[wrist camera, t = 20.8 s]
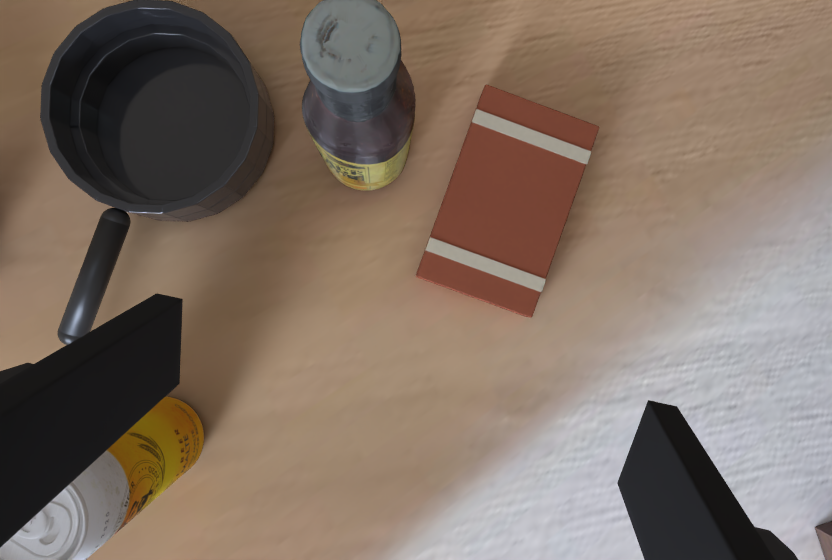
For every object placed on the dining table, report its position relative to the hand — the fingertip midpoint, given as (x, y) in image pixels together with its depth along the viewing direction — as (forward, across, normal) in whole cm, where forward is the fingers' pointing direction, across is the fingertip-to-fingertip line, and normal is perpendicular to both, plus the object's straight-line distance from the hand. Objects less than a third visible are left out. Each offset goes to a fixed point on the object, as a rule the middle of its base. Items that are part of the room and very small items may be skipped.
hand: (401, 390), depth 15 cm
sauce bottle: (+28, +7, -3) cm, 29 cm away
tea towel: (+28, -4, -1) cm, 29 cm away
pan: (+26, +21, -2) cm, 34 cm away
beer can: (+19, +18, +19) cm, 32 cm away
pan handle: (+19, +23, +8) cm, 31 cm away
